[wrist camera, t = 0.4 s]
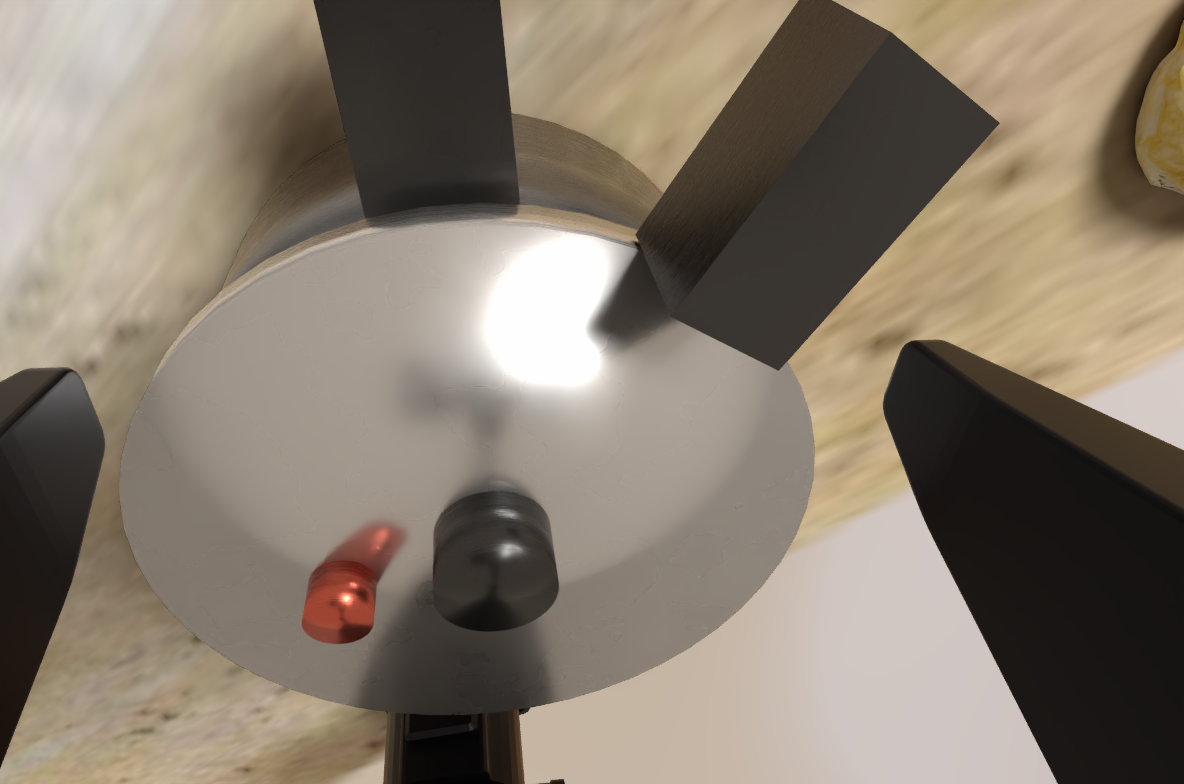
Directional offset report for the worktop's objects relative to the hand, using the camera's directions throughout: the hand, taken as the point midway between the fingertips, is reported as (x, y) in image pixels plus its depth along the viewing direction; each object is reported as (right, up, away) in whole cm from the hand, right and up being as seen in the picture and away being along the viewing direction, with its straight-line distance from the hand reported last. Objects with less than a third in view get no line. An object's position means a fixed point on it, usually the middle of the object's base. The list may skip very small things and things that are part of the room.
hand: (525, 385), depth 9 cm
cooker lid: (0, -1, +10) cm, 10 cm away
